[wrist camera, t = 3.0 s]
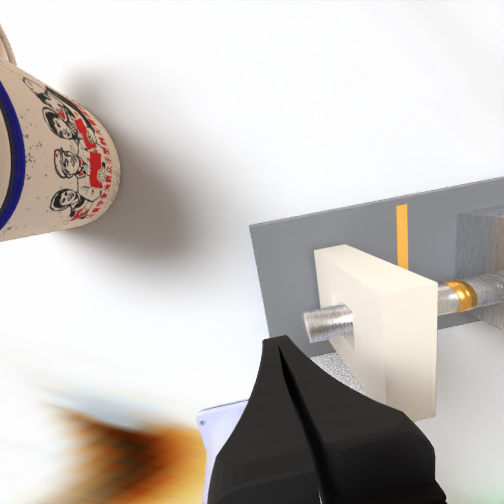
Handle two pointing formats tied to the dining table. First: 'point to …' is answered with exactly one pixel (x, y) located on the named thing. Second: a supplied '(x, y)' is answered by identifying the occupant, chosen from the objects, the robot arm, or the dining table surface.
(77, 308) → the dining table surface
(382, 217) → the base plate
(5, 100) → the teacup with lid
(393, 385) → the collar
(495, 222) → the pipe stand
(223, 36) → the dining table surface
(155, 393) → the dining table surface
